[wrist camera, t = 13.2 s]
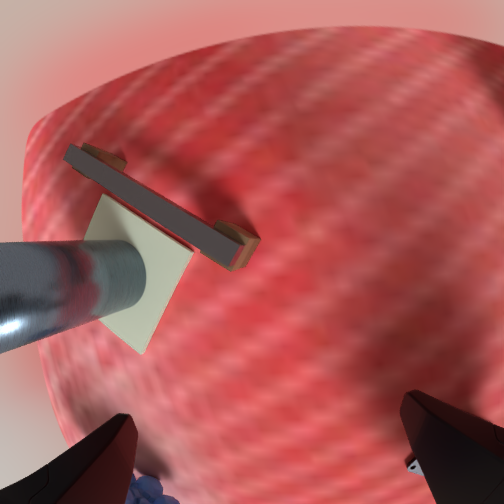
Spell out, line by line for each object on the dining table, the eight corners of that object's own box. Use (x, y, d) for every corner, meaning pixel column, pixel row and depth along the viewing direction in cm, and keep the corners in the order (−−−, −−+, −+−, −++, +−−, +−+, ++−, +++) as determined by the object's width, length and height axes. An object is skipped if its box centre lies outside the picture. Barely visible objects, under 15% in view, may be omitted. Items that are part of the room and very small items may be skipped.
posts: (261, 239, 19) (249, 238, 15) (245, 266, 19) (230, 271, 16) (111, 153, 21) (83, 142, 18) (100, 175, 21) (72, 167, 18)
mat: (194, 252, 20) (191, 252, 19) (144, 352, 21) (140, 354, 20) (106, 194, 21) (102, 193, 21) (70, 288, 22) (66, 289, 22)
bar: (245, 245, 15) (240, 245, 14) (234, 265, 16) (227, 267, 14) (81, 147, 18) (70, 143, 16) (74, 162, 18) (63, 159, 17)
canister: (148, 242, 20) (-22, 250, 7) (145, 314, 20) (-6, 378, 7) (94, 237, 21) (-54, 240, 8) (93, 301, 21) (-45, 340, 8)
